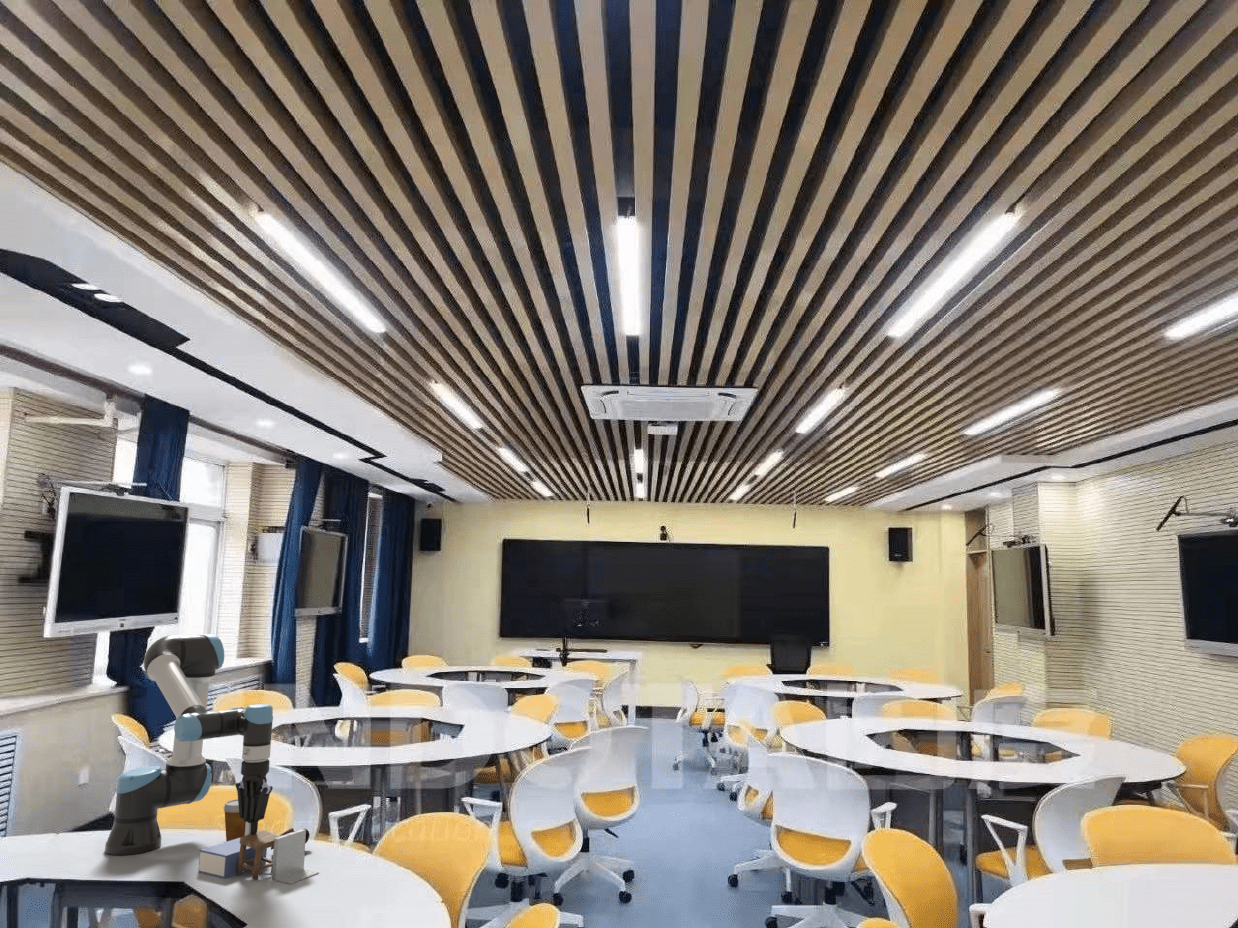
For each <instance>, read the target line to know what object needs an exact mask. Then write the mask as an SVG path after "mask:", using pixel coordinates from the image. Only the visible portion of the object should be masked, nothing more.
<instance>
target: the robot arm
mask: <svg viewBox="0 0 1238 928" xmlns="http://www.w3.org/2000/svg"><path fill="white" fill-rule="evenodd" d="M224 662H225V649H224V645H223V643H222V640H221V639H220V638H219V636H217V635H215V634H210V633H209V634H207V633H200V634H199V633H197V634H196V633H195V634H179V635H175V634H174V635H173V634H172V635H166V636H163V637H161V638H159V639H157V640H156V641H154V642H153V643H152V644H151V645H150V646H149V648H147V651H146V652H145V655H144V658H143V668H144V672H145V674H146V675H147V677H148V678H149V679H150V680H151V681H154V682H155V683H156V684H157V687H158V688H159V690H160V692H161V693H162V695H163V697H164V698H165V700H166V702H167V704H168V705H169V707H170V709H171V710H172V712H173V714H174V715H175V718H176V720H175V722H174V727H173V729H174V736H173V737H174V738H173V746H172V747H173V748H172V756H171V757H170V758H168V760H167V761H166V763H165V768H164V769H162V767H161V766H160V765H148V766H139V767H136V768H132V769H129V770H128V771H125V772H124V773H122V774H121V775H120V776H119V778H118V779H117V780H118V781H117V787H116V790H115V792H116V795H115V797H116V798H115V799H116V800H115V807H114V809H115V810H114V819H113V825H112V828H111V830H110V832H109V835H108V838H107V840H106V841H105V846H104V852H105V854H108V855H113V856H127V855H136V854H141V853H146V852H150V851H153V850H156V849H158V848H159V847H161V845H162V835H161V829H160V827H159V822H158V811H159V809H163V808H168V807H175V806H181V805H190V804H192V803H195V802H199V801H202V800H203V799H204V798H205V797H206V796H207V794H208V792H209V790H210V789H211V785H212V780H213V779H212V778H213V774H212V767H211V766H210V764H209V763H207V759H206V758H205V756H203V755H202V753H203V745H204V740H209V739H210V740H211V739H217V738H224V737H226V738H227V737H233V736H242V737H243V738H242V739H243V741H242V757H241V759H242V761H241V763H240V764H241V767H240V774H241V775H242V779H241V781H240V782H236V783H235V788H236V792H237V799H238V805H239V817H240V818H243V819H244V821H245V825H244V832H245V836H247V835H250V834H255V833H257V832H258V828H259V821H261V820H263V819H265V817H266V816H265V815H266V813H267V812H266V811H267V807H268V805H269V804H268V802H269V800H270V799H269V798H270V794H271V793H272V791H273V788H274V787H273V786H272V785H268V783H267V781H268V779H267V775H268V773H269V772H270V762H271V761H270V757H271V745H272V731H273V721H274V715H273V713H274V712H273V710H274V709H273V706H272V705H271V704H269V703H266V704H265V703H256V704H249V705H247V706H246V707H242V706H240V707H232V708H229V709H227V710H226V709H225V710H216V711H215V710H213V711H208V710H207V706H208V699H209V687H210V682H211V680H212V679H213V678H214V677H215V676H216V671H217V670H220V669H222V667H223V664H224ZM243 812H244V813H243ZM247 847H248V846H247Z"/></svg>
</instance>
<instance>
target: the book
mask: <svg viewBox="0 0 1238 928" xmlns="http://www.w3.org/2000/svg"><path fill="white" fill-rule="evenodd" d="M240 845H241V844H240V838H237V839H234V840H231V841H227V842H226V841H225V842H222V843H218V844H215V845H211V846H208V847H204V848H201V849H200V850H199V858H198V871H199V872H198V873H200V872H202V873H201V874H204V873H205V874H204V875H208V874H209V875H210V876H214V877H219V878H222V879H227V878H229V877H232V876H235V875H238V873H237V866H238V859H239V852H240ZM267 851H268V848H266V849H264V851H263V857H265V858H267V853H268V852H267ZM255 855H256V849H253V848H250V847H247V846H246V853H245V860H248V859H251V858H254V857H255ZM245 860H244V861H245ZM254 862H255V861H253V862H250V863H247V864H248V865H251V866H253V867H254ZM263 864H264V865H267V862H265V861H262V866H264V865H263ZM246 870H247V871H250V870H249V869H247V868H245V867H243V871H244V872H246Z"/></svg>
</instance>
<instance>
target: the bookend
mask: <svg viewBox="0 0 1238 928" xmlns="http://www.w3.org/2000/svg"><path fill="white" fill-rule="evenodd" d="M304 829H305V828H302V829H299V830H296V831H295V830H294V831H295V832H292V833H289V834H286V835H283V836H280V835H278V836H279V837H276V838H274V849H272V850H273V852H272V860H273V866H272V873H271V880H272V881H276V882H280V883H284V884H289V885H292V884H295V883H297V882H300V881H303V880H305V879H306V880H307V879H308V878H310V877H311V878H312V877H313V876H315V875H319V873H320V872H318V871H314V870H310V869H306V868H305V856H306V855H305V853H306V844H305V839H306V830H304Z"/></svg>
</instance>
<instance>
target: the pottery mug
mask: <svg viewBox="0 0 1238 928" xmlns="http://www.w3.org/2000/svg"><path fill="white" fill-rule="evenodd" d="M303 829H304V830H306V839H305V845H306V844H307V842H309V839H310V831H309V830H308V829H307V828H303ZM292 832H295V829H294V827H291V828H289V829H287V830H286V831H284V832H283V833H281V834H279V836H283V835H286V834H289V833H292ZM270 850H274V846H272V847H270Z"/></svg>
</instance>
